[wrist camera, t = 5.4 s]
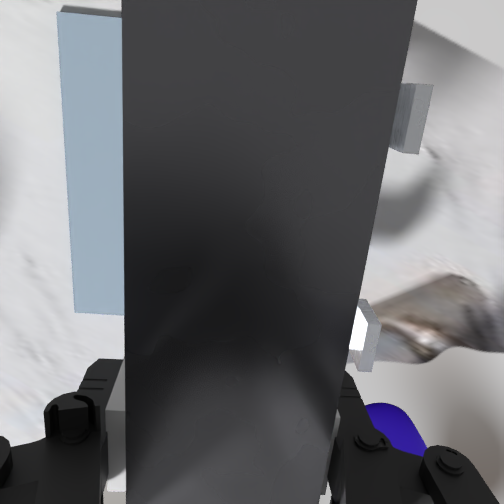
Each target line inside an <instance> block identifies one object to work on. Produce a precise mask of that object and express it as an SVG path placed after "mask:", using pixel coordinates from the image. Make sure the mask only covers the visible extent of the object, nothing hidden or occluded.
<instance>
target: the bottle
mask: <svg viewBox="0 0 504 504" xmlns="http://www.w3.org/2000/svg"><path fill="white" fill-rule="evenodd" d="M365 407H366V410H367V412H368V414H369V416H370V419H371V421H372V423H373V426H374V428H375V429H377V430H379V431H380V432H382V433H384V434H385V436H386V437H387V438H388V439H389V440H390V442H391V444H392V446H393V447H394V448H396V449H399V450H402V451H404V452H408V453H412V454H415V455H419V456H422V457H423V455H424V452H425V450H426V449H427V447H426V445H425V443H424V441H423V440H422V437H421V436H420V434H419V433H418V431H417V429H416V427H415V426H414V424H413V422H412V421H411V419H410V418H409V416H407V414H406V413H405V412H404V411H403V410H402V409H400V408H399V407H397V406H394V405H391V404H388V403H372V404H368V405H365Z"/></svg>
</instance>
